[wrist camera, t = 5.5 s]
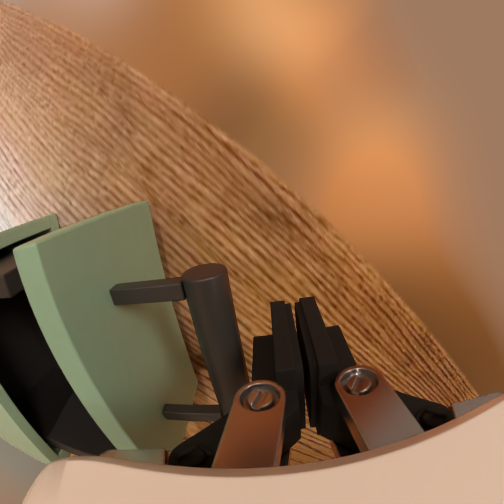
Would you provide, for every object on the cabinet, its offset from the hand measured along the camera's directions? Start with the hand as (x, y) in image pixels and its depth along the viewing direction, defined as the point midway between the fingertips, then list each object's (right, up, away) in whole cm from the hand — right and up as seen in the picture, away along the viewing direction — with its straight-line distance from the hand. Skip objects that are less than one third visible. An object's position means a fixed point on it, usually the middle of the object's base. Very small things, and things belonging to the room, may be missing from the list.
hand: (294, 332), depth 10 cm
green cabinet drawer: (-10, 0, +4) cm, 11 cm away
